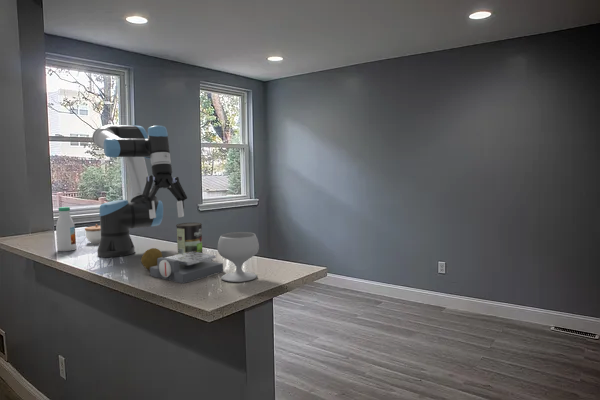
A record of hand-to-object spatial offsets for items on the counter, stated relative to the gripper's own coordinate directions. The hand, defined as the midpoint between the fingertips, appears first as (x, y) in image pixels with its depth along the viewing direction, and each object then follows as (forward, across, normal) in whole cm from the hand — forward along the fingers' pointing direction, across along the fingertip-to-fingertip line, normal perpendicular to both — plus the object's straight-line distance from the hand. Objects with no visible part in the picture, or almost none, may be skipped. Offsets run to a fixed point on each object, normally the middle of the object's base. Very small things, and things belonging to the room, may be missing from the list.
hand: (167, 217), depth 169 cm
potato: (+19, -8, +2) cm, 21 cm away
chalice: (+26, 0, -34) cm, 43 cm away
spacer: (+20, +9, -9) cm, 23 cm away
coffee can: (+17, +13, +5) cm, 22 cm away
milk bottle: (+5, -6, +66) cm, 67 cm away
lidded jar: (+2, +13, +71) cm, 72 cm away
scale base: (+22, -6, -14) cm, 27 cm away
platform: (+17, -4, -15) cm, 23 cm away
